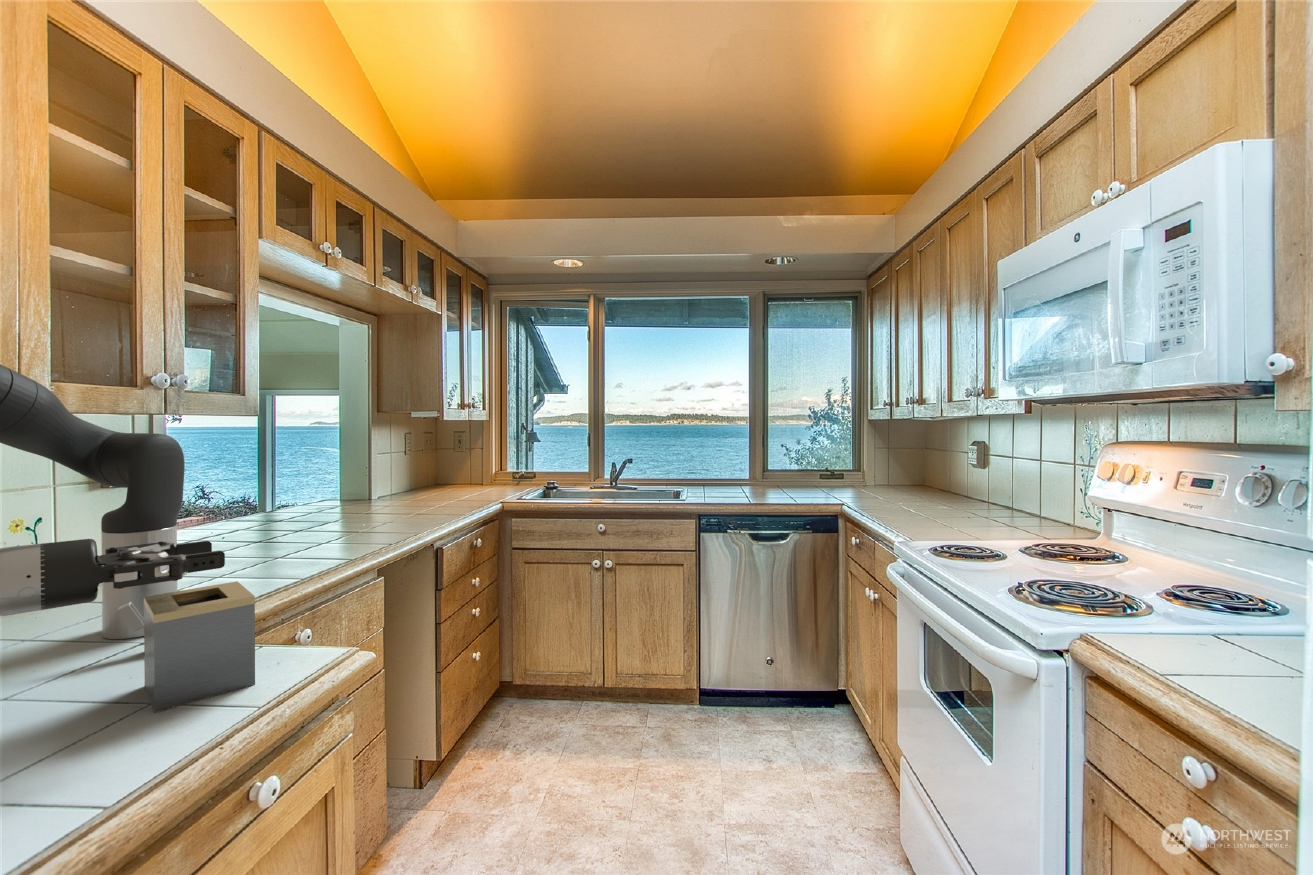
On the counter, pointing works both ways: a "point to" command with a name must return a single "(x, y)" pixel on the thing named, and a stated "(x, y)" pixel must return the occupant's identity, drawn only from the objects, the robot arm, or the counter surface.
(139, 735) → the counter surface
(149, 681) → the coin box
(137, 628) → the lighter
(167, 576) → the robot arm
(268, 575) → the counter surface
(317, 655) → the counter surface
